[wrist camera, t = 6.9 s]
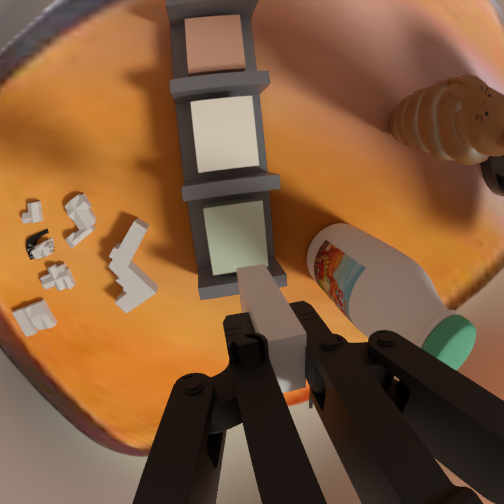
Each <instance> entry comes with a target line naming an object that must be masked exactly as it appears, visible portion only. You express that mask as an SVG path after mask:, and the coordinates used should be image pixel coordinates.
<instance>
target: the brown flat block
mask: <svg viewBox="0 0 504 504" xmlns="http://www.w3.org/2000/svg"><path fill="white" fill-rule="evenodd" d="M185 33H186V49H187V62H188V74H189V77H192V76H200V75H209V74H219V73H231V72H244V71H245V69H246V64H245V56H244V47H243V38H242V30H241V21H240V15H221V16H207V17H197V18H189V19H185Z"/></svg>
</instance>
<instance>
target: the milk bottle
mask: <svg viewBox="0 0 504 504" xmlns="http://www.w3.org/2000/svg"><path fill="white" fill-rule="evenodd" d="M307 267H308V270H309V273H310V275H311V276H312V278H313V279H314V280H315V281H316V283H317V284H318V285H319V286H320V287H321V288H322V290H323V291H324V292H325V293H326V294H327V295H328V296H329V298H330V299H331V300H332V301H333V302H334V303H335V305H336V306H337V307H338V308H339V309H340V310H341V311H342V312H343V314H344V315H345V316H346V317H347V318H348V319H349V320H350V321H351V322H352V323H353V324H354V325H355V326H356V328H357V329H358V330H359V331H361V332H362V333H363V334H364V335H366V336H367V337H368V338H369V337H370V335H371V334H372V333H373V332H376V331H379V330H389V331H393V332H395V333H398V334H399V335H401V336H402V337H404V338H406V339H407V340H409V341H410V342H412V343H413V344H415V345H417V346H418V347H420V348H421V349H423V350H425V351H426V352H428V353H429V354H431V355H432V356H434V357H436V358H437V359H439V360H440V361H442V362H443V363H445V364H447V365H448V366H450V367H451V368H453V369H454V370H457V369H458V368H459V367H460V366H461V365H462V364H463V362H464V361H465V360H466V358H467V357H468V355H469V354H470V352H471V350H472V348H473V345H474V342H475V339H476V329H475V327H474V325H473V324H472V323H471V322H470V321H469V320H467V319H466V318H464V317H463V316H461V315H459V314H458V312H456V311H455V310H448V309H447V308H446V307H445V305H444V304H443V303H442V301H441V299H440V298H439V296H438V294H437V292H436V290H435V287H434V285H433V283H432V281H431V279H430V278H429V276H428V275H427V273H426V272H425V271H424V270H423V268H422V267H421V266H420V265H419V264H417V263H416V262H415V261H414V260H412V259H411V258H409V257H408V256H406V255H405V254H403V253H402V252H400V251H398V250H397V249H395V248H393V247H392V246H390V245H388V244H386V243H384V242H383V241H381V240H379V239H377V238H375V237H373V236H372V235H370V234H368V233H366V232H364V231H362V230H360V229H358V228H356V227H354V226H352V225H349V224H345V223H337V224H333V225H330V226H328V227H326V228H324V229H323V230H321V231H320V232H319V233H318V234H317V235H316V236H315V237H314V239H313V240H312V242H311V244H310V246H309V249H308V252H307Z"/></svg>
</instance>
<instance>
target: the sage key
mask: <svg viewBox="0 0 504 504" xmlns="http://www.w3.org/2000/svg"><path fill="white" fill-rule="evenodd" d="M203 211H204V219H205V225H206V232H207V239H208V245H209V252H210V258H211V265H212V271H213V275H219V274H225V273H232V272H237V269H236V268H241V267H247V266H253V265H259V264H265V266H266V267H268V255H267V244H266V232H265V221H264V210H263V201H262V200H261V199H260V198H258V197H252V198H244V199H236V200H228V201H221V202H214V203H207V204H203Z"/></svg>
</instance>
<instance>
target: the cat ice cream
mask: <svg viewBox="0 0 504 504" xmlns="http://www.w3.org/2000/svg"><path fill="white" fill-rule="evenodd" d="M390 129H391V132H392V134H393V136H394V137H395V138H396V139H397V140H398V141H400V142H403V143H405V144H406V145H407V146H409V147H412V148H416V149H417V150H419V151H422V152H426V153H430V154H432V155H433V156H434V157H435V158H437V159H439V160H443V161H457V162H459V163H461V164H463V165H474V164H477V163H481V162H484V161H486V160H487V159H488V157H489V156H503V155H504V95H503V94H501V93H499V92H497V91H495V90H494V89H492V88H490V87H488V86H487V84H486V83H485V82H484V81H482V80H481V79H479V78H478V77H476V76H473V75H465V76H462V77H460V78H452V77H451V78H448V79H447V80H443V81H439V82H437V83H436V84H434V85H433V86H431V87H430V88H424V89H421V90H418V91H416V92H415V93H414V94H413V95H410V96H408V97H406V98H405V99H404V100H402V101H401V103H400V105H399V106H398V107H397V108H396V109H395V110H394V111H393V113H392V115H391V117H390Z"/></svg>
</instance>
